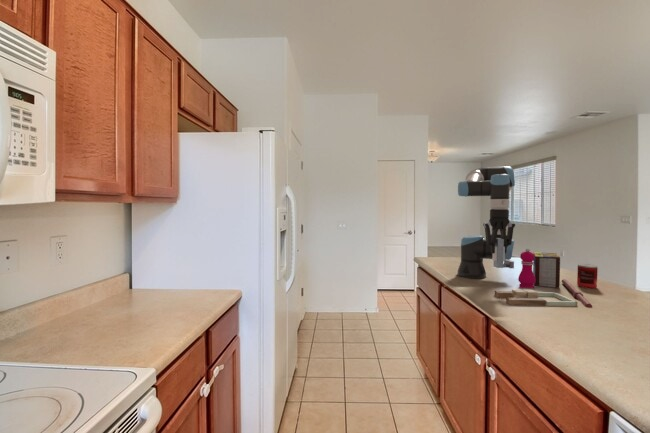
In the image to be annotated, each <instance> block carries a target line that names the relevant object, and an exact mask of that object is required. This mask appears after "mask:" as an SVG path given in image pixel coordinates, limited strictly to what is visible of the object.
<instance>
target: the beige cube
mask: <svg viewBox="0 0 650 433" xmlns="http://www.w3.org/2000/svg"><path fill="white" fill-rule="evenodd" d="M511 291H512V298H527V292H525V291H523V289H521V288H520V289H518V288H516V289H515V288H514V289H513V288H512V289H511Z"/></svg>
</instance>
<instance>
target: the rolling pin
mask: <svg viewBox="0 0 650 433" xmlns="http://www.w3.org/2000/svg"><path fill="white" fill-rule="evenodd" d="M561 283H562V284H563V285H564V286H565V287H566V288H567V289H568V290H569V291H570V293H571V294H572V296H573V297H574V298H575V299H576V300H578V301H579V302H580V303H582V305H583V306H584V307H586V308H593V305H592V303H591V302H589V300H587V299H586V298H585V296H584V294H583V293H582V292H580V291H578V290H577V289H576V288H575V287H574V286H573V285H572V284H571V283H570V282H569V281H568V280H567V279H564V278H562V280H561Z"/></svg>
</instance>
